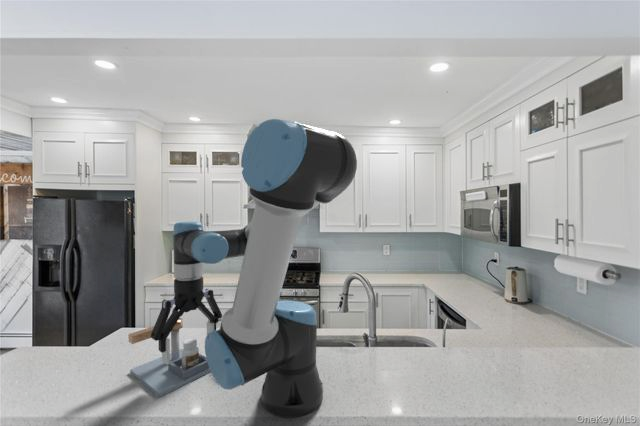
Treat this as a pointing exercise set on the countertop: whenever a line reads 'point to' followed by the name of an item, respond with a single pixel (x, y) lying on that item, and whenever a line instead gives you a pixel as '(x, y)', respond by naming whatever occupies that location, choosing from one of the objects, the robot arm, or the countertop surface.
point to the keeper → (149, 333)
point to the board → (169, 370)
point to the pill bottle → (190, 354)
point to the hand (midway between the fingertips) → (189, 352)
